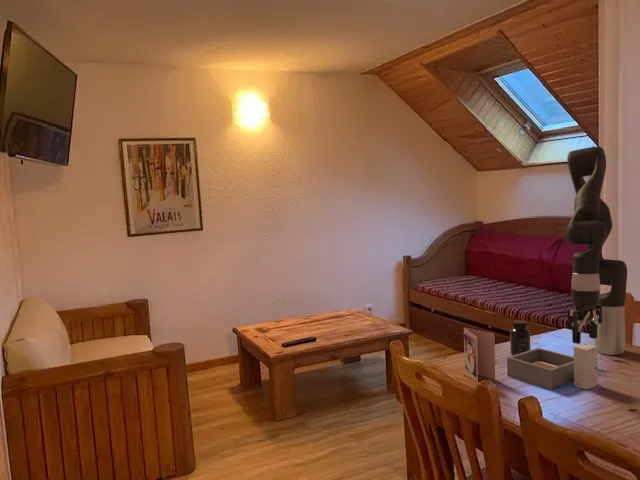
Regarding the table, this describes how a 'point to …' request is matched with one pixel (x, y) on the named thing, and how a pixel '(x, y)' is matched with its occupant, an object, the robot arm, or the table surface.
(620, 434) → the table surface
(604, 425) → the table surface
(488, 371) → the greeting card
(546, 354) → the crate
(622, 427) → the table surface
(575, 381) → the skincare box
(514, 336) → the supplement bottle
